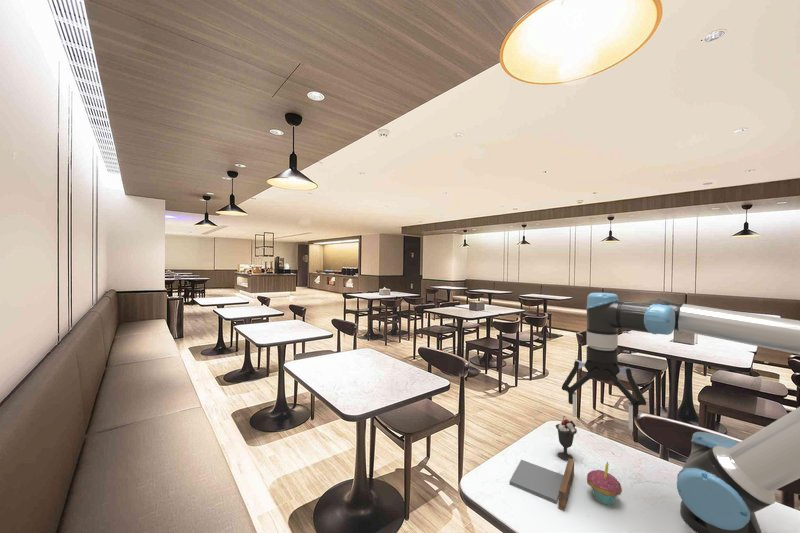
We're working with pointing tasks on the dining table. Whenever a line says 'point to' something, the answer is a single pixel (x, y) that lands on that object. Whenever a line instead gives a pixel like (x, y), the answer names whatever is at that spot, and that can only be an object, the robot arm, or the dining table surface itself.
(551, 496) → the board
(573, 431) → the sundae
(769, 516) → the dining table surface
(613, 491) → the cupcake
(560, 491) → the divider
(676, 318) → the robot arm
